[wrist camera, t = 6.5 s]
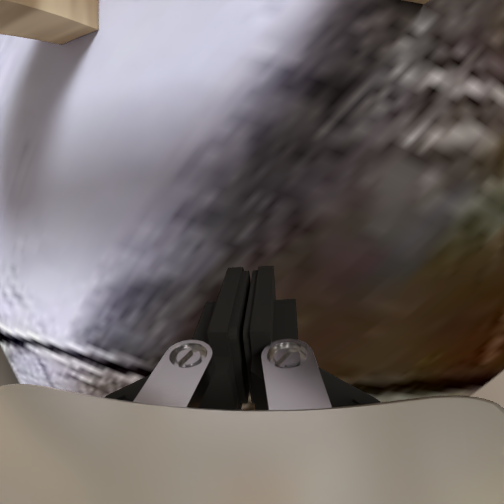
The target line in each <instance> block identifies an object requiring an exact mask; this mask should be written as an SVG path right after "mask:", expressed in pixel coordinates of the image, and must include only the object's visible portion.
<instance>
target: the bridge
mask: <svg viewBox="0 0 504 504" xmlns="http://www.w3.org/2000/svg"><path fill="white" fill-rule="evenodd" d="M403 1H409V2H415V3H420V4H425V3H426V2H428V1H429V0H403ZM98 9H99V0H0V34H3V35H11V36H17V37H23V38H29V39H35V40H40V41H45V42H50V43H55V44H60V45H62V44H64V43H67V42H69V41H71V40H74V39H76V38H79V37H81V36H84V35H86V34H89V33H91V32H94V31H97V30H99V25H98Z"/></svg>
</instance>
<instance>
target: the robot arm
mask: <svg viewBox="0 0 504 504" xmlns="http://www.w3.org/2000/svg"><path fill="white" fill-rule="evenodd" d="M249 387H250V393H251V401H252V403H255V409H256V410H241V406H242V403H247V402H248V395H249ZM0 504H504V408H502V407H501V406H500V405H498V404H497V403H494V402H493V401H490V400H486V399H482V398H477V397H468V396H432V397H421V398H414V399H407V400H399V401H390V402H380V401H378V400H377V399H376V398H374V397H372V396H370V395H369V394H367V393H365V392H363V391H361V390H359V389H357V388H355V387H354V386H352V385H350V384H348V383H346V382H344V381H342V380H341V379H339V378H337V377H335V376H333V375H332V374H330V373H328V372H326V371H324V370H323V369H321V368H319V367H318V365H317V362H316V359H315V357H314V354H313V351H312V349H311V348H310V346H309V345H307V344H306V343H305V342H302V341H300V340H298V328H297V314H296V300H295V299H287V300H276V296H275V280H274V267H273V266H260V267H258V270H257V271H253V274H252V279H251V285H250V275H249V271H244V269H243V267H237V268H228V269H227V272H226V275H225V278H224V281H223V284H222V287H221V291H220V294H219V297H218V300H217V302H207V303H206V304H205V307H204V310H203V312H202V315H201V318H200V320H199V323H198V326H197V329H196V331H195V334H194V337H193V339H192V340H187V341H182V342H179V343H177V344H175V345H173V346H172V347H170V348H169V349H168V350H167V351H166V353H165V354H164V356H163V357H162V359H161V360H160V362H159V363H158V365H157V366H156V368H155V369H154V371H153V372H152V374H151V375H149V376H147V377H145V378H143V379H140V380H138V381H136V382H134V383H132V384H130V385H128V386H126V387H124V388H122V389H119V390H117V391H115V392H113V393H111V394H109V395H108V396H106V397H99V396H93V395H88V394H82V393H77V392H72V391H67V390H62V389H56V388H51V387H46V386H41V385H32V384H12V385H4V386H0Z"/></svg>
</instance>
